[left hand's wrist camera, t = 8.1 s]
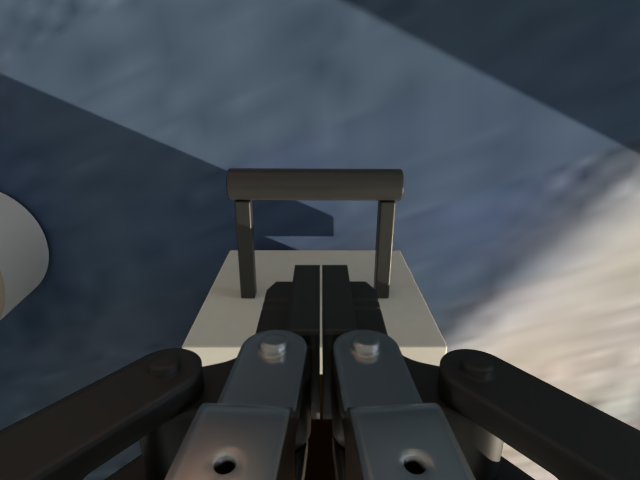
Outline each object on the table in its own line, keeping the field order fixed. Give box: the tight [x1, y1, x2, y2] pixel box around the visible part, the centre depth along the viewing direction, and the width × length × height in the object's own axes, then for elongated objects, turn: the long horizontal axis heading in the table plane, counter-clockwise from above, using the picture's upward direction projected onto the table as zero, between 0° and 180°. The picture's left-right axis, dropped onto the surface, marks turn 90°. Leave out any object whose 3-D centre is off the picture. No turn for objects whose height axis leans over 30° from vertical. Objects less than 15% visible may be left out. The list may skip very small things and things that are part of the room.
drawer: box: [182, 168, 447, 480], centre depth 21 cm, size 25×9×9 cm, turn 0°
